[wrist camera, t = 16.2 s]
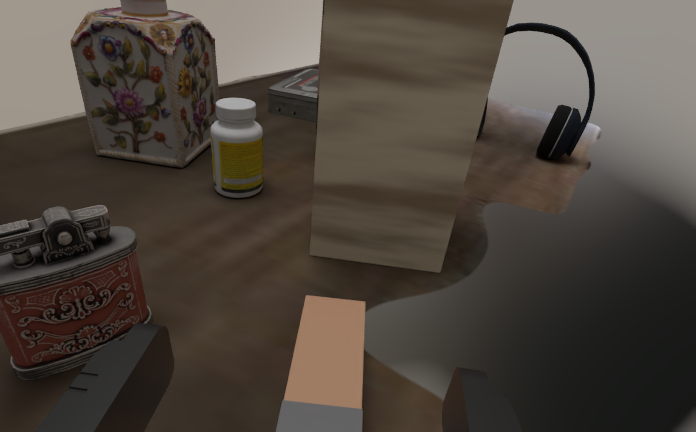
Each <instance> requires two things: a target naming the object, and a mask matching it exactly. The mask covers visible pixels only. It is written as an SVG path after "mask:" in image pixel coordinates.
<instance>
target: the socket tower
mask: <svg viewBox="0 0 696 432" xmlns="http://www.w3.org/2000/svg"><path fill="white" fill-rule="evenodd" d="M512 4H513V0H325V3H324V20H323V36H322V53H321V70H320V87H319V103H318V120H317V137H316V154H315V170H314V187H313V204H312V221H311V237H310V254H309V255H312V256H319V257H327V258H334V259H341V260H349V261H356V262H363V263H371V264H378V265H386V266H393V267H400V268H408V269H415V270H422V271H430V272H437V273H440V272H441V268H442V265H443V261H444V257H445V253H446V250H447V246H448V242H449V239H450V235H451V231H452V227H453V224H454V220H455V216H456V212H457V209H458V205H459V201H460V198H461V194H462V190H463V186H464V183H465V179H466V175H467V172H468V168H469V164H470V160H471V157H472V153H473V149H474V146H475V142H476V138H477V134H478V131H479V127H480V123H481V119H482V116H483V112H484V108H485V105H486V101H487V97H488V93H489V90H490V86H491V82H492V78H493V74H494V71H495V67H496V64H497V60H498V56H499V52H500V48H501V45H502V41H503V38H504V34H505V30H506V26H507V23H508V19H509V15H510V11H511V8H512Z"/></svg>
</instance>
